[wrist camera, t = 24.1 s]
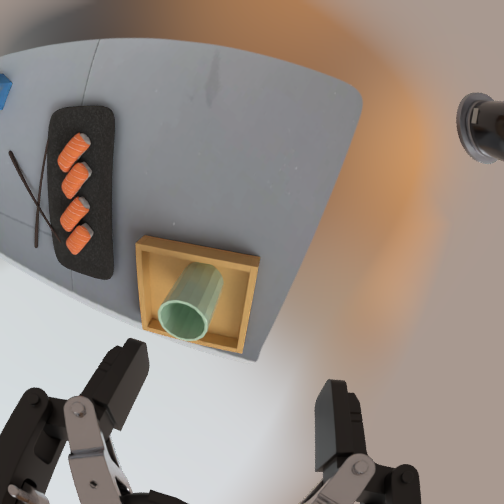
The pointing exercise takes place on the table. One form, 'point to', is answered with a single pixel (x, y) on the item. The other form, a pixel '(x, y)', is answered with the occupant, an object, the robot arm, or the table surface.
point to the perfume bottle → (4, 89)
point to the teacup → (191, 302)
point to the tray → (170, 268)
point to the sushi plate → (80, 188)
